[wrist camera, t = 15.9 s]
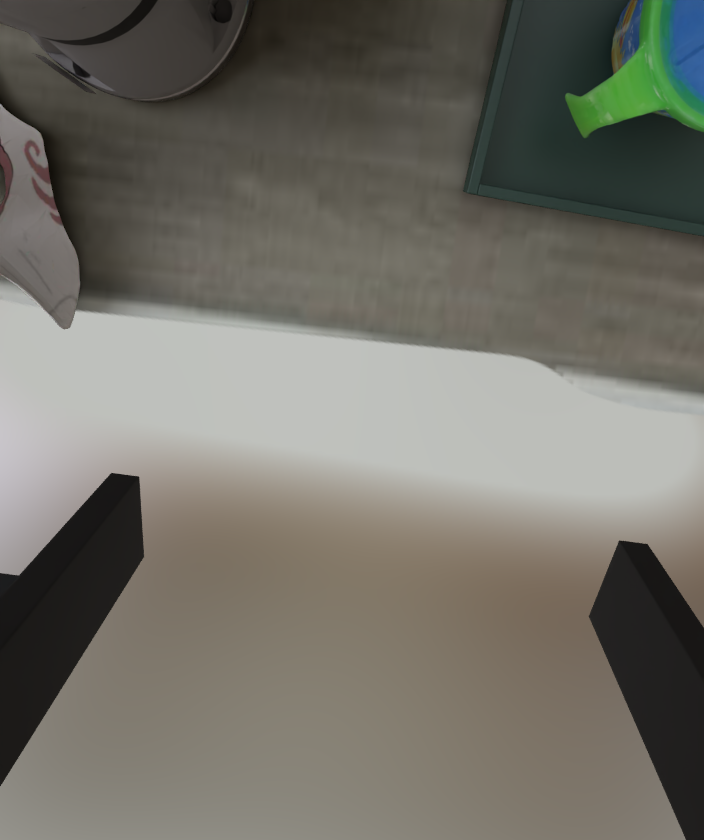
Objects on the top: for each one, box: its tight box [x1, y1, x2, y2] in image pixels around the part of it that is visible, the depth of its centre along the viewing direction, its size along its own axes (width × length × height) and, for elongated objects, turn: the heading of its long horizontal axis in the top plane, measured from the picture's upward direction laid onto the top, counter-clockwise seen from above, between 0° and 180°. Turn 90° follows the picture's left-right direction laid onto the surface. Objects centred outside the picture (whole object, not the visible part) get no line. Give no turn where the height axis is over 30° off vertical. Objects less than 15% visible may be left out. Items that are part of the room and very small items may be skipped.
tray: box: [463, 0, 704, 236], centre depth 33 cm, size 20×20×2 cm
